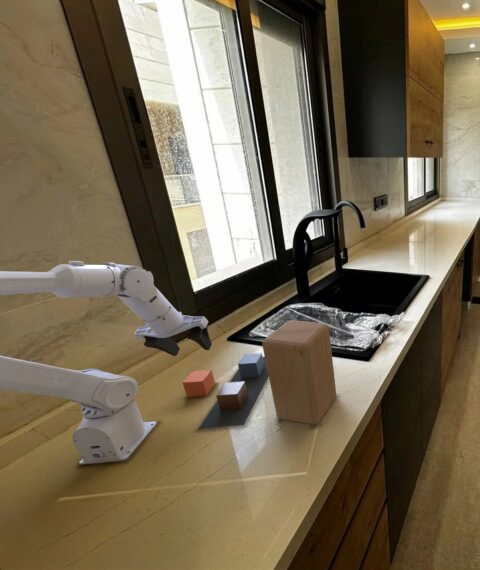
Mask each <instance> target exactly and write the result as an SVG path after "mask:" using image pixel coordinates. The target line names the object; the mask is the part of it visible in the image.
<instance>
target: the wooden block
mask: <svg viewBox="0 0 480 570" xmlns="http://www.w3.org/2000/svg"><path fill="white" fill-rule="evenodd" d="M262 351H263V357H265V361H266V365H267V370H268V375H269V377H268V381H269V385H270V389H271V395H272V400H273V405H274V409H275V415H276V417H277V418H278V419H279V420H282V421H283V420H284V421H288V422H295V423H301V424H307V425H311V426H312V425H313V426H315V425H318V424H319V423H320V421H321V420H322V419H323V417H324V415H325V414H326V413H327V411H328V410H329V408H330V407H331V405H332V404H333V402H334V400H335V399H336V397H337V386H336V378H335V369H334V362H333V361H334V360H333V353H332V352H333V351H332V343H331V334H330V327H329V325H328V324H327V323H325V322H324V323H323V322H315V321H314V322H313V321H305V320H296V319H290V320H287V321H286V322H285V323H282V325H280V326H279V327H278V328H277V329H275V330H274V331H273V332H272V333H270V334H269V335H268V336H266V338H264V339H263V341H262Z"/></svg>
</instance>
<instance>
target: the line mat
mask: <svg viewBox="0 0 480 570" xmlns="http://www.w3.org/2000/svg"><path fill="white" fill-rule="evenodd" d="M263 361H264V366H265V367H264V369H263V371H262V373H261V375H260V376H259V377H253V378H241V375H240V371H239V368H238V369H237V371H235V373H234V375H233V377H232V378H231V379H230V381H229V382H243V381H245V384H246V388H247V393H248V398H247V400H246V402H245V404H244V405H243V407H242V409H241V410H230V411H220V408H219V404H218V401H217V400H216V402H215V404H214V405H213V406H212V407H211V409H210V410H209V412H208V414H207V415H206V417H205V418H204V420H203V421H202V423H201V424H200V426H199V427H198V430H203V429H213V428H226V427H238V426H244V425H245V424H246V422H247V420H248V418H249V416H250V414H251V412H252V410H253V408H254V406H255V405H256V402H257V400H258V398H259V396H260V395H261V392H262V390H263V389H264V387H265V385H266V383H267V381H268V380H269V375H268V370H267V365H266V361H265V356H263Z"/></svg>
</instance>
